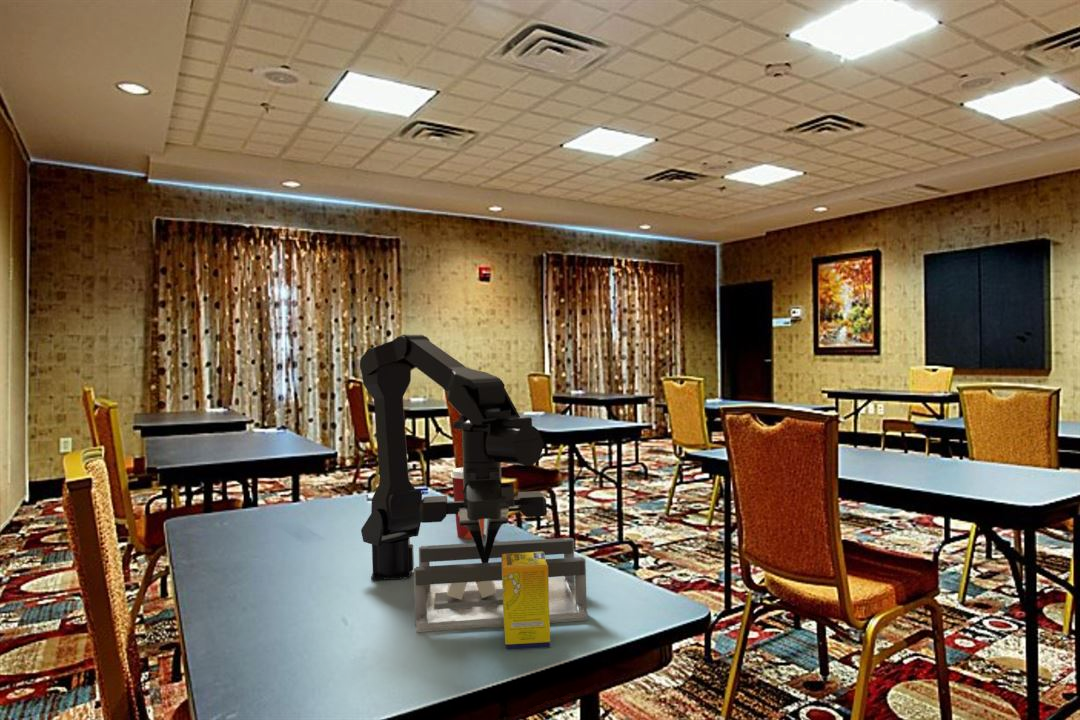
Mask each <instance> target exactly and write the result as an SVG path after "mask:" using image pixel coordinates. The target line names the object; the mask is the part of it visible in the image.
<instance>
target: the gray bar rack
mask: <svg viewBox="0 0 1080 720" xmlns="http://www.w3.org/2000/svg"><path fill="white" fill-rule="evenodd" d="M574 541H575V540H574V538H572V537H561V538H558V537H557V538H544V539H543V538H541V539H523V540H506V541H505V540H504V541H494V543H493V547H492V551H491V554H490V558H489V559H499V558H500V559H502V554H509V553H529V552H543V553H544V554H545V556H553V555H563V557H561V558H545V559H546V563H547V565H548V578H555V577H564V576H565V583H566V580H571V581H572V583H574V585H575V598H576V607H577V604H583V606H584V608H586V610H587V611H588V607H587V605H588V604H587V602H588V601H587V597H588V596H587V569H586V568H587V565H586V562H587V561H586V558H585V557H582V556H581V557H580V556H577V557H576V556H575V546H574V544H575V543H574ZM483 545H484V552H485V542H483ZM468 560H470V561H471V560H481V559H480V556H479V553H478V550H477V547H476V544H475V542H474V543H473V542H468V543H455V544H454V543H452V544H437V545H436V544H434V545H420V546H419V547H418V564H419V565H418V566H416V567H415V568H413V583H414V584H413V585H414V587H413V588H414V589H413V590H414V591H413V593H414V616H415V617H414V621H415V622H414V623H415V624H414V625H415V626H414V627H416V622H417V619H419V617H420V615H424V614H426V617H427V612H426V589H429V591H430V585H443V584H449V583H463V582H467V583H475V582H479V581H502V561H496V562H495V561H494V562H488V563H482V562H478V563H477V562H476V563H475V562H474V563H461V564H460V563H459V564H445V565H444V564H443V565H430V563H431V562H433V563H434V562H445V561H446V562H450V561H468Z"/></svg>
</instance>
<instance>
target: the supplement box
mask: <svg viewBox="0 0 1080 720" xmlns="http://www.w3.org/2000/svg"><path fill="white" fill-rule="evenodd" d="M546 559H547V558H546V555H545V554H544V553H543V552H529V553H509V554H502V558H501V562H502V580H501V581H502V586H503V615H504V626H503V633H504V645H505V646H504V647H505V650H506V651H508V652H509V651H517V650H518V651H519V650H533V649H546V648H550V647H551V626H550V625H551V623H550V617H549V583H548V578H549V577H548V565H547V563H546Z"/></svg>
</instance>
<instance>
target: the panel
mask: <svg viewBox="0 0 1080 720" xmlns="http://www.w3.org/2000/svg"><path fill="white" fill-rule="evenodd" d="M548 583H549V617H550V624H555V623H569V622H570V623H571V622H583V621H584V622H585V621H588V620H589V615H588V613H589V612H588V609H587V610H586V608H584V606H583V604H577V607H576V598H575V585H574V583H572V581H571V580H566V583H565V576H559V577H548ZM494 584H495V588H496V593H494V594H492V595H489V596H487V597H485V598H482V597H481V594H480V592H479V589H478V587H477V584H476V582H467V584H466V587H465V590H464V593H463V596H462V599H461V600H460V599H457V598H453V597H450V596H447V590H448V586H449V583H447V584H431V585H430V591H429V589H426V612H427V617H426V614H424V615H420V617H419V619H417V622H416V626H415V627H416V628H415V631H416V633H423V632H424V633H425V632H426V633H427V632H439V631H442V632H443V631H452V630H453V631H454V630H455V631H456V630H468V629H470V630H471V629H484V628H497V627H504V615H503V586H502V580H495V581H494Z"/></svg>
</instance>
